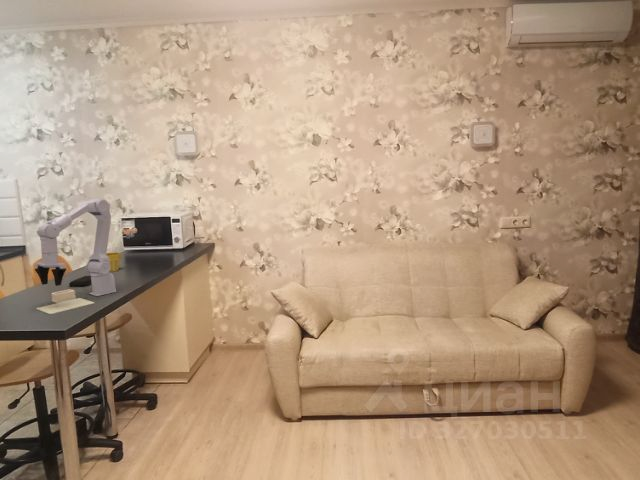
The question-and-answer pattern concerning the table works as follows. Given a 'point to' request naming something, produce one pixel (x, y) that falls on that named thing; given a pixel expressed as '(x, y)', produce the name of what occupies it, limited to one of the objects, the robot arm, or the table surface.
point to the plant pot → (114, 261)
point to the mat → (65, 306)
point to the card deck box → (63, 296)
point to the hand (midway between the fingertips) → (51, 284)
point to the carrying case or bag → (81, 282)
